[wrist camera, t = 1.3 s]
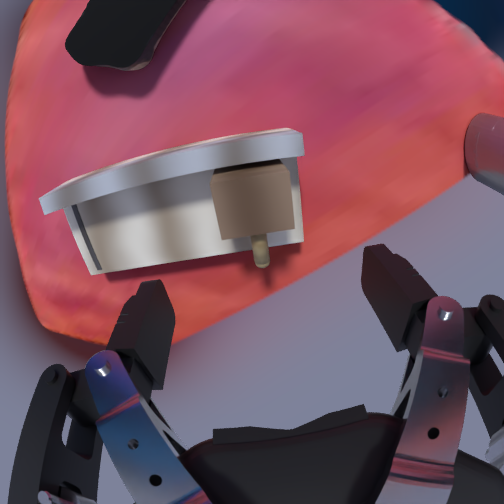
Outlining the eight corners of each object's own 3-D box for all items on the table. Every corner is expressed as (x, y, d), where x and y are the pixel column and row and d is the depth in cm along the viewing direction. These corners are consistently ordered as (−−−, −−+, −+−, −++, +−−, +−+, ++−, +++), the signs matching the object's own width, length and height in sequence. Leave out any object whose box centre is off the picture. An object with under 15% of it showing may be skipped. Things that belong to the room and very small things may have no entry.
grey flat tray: (287, 127, 22) (302, 133, 17) (298, 229, 27) (311, 258, 22) (69, 180, 22) (38, 198, 17) (99, 262, 27) (79, 292, 22)
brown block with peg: (277, 157, 21) (289, 171, 16) (287, 241, 24) (298, 272, 20) (215, 167, 21) (209, 183, 16) (232, 249, 24) (231, 282, 20)
